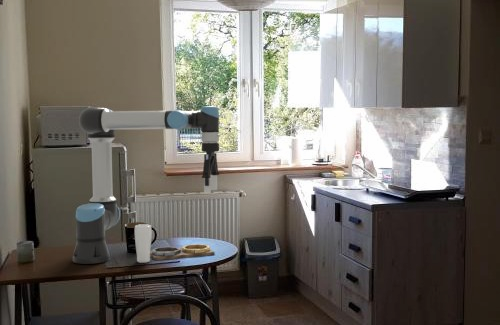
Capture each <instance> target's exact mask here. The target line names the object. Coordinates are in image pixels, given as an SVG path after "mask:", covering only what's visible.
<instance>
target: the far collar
mask: <svg viewBox="0 0 500 325" xmlns="http://www.w3.org/2000/svg"><path fill="white" fill-rule="evenodd" d="M181 248H182V251H183V252H185V253H205V252H207V251H210V249H211V246H209V245H208V244H201V243H200V244H199V243H196V244H195V243H194V244H186V245H183V246H181ZM191 248H204V249H191Z"/></svg>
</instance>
